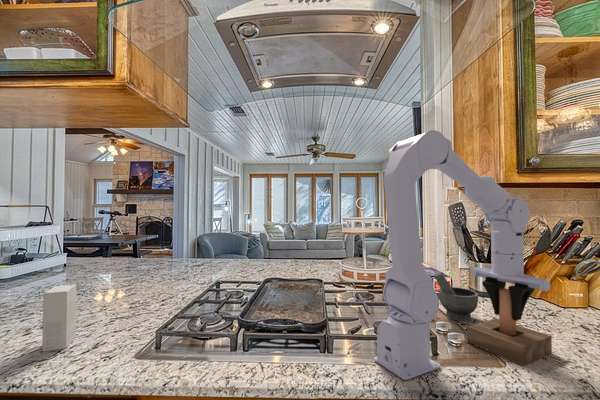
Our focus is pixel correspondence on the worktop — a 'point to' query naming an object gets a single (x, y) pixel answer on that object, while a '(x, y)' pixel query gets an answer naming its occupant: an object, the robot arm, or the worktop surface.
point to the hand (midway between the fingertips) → (507, 316)
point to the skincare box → (59, 317)
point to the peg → (506, 313)
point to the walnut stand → (510, 342)
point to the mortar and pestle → (456, 299)
